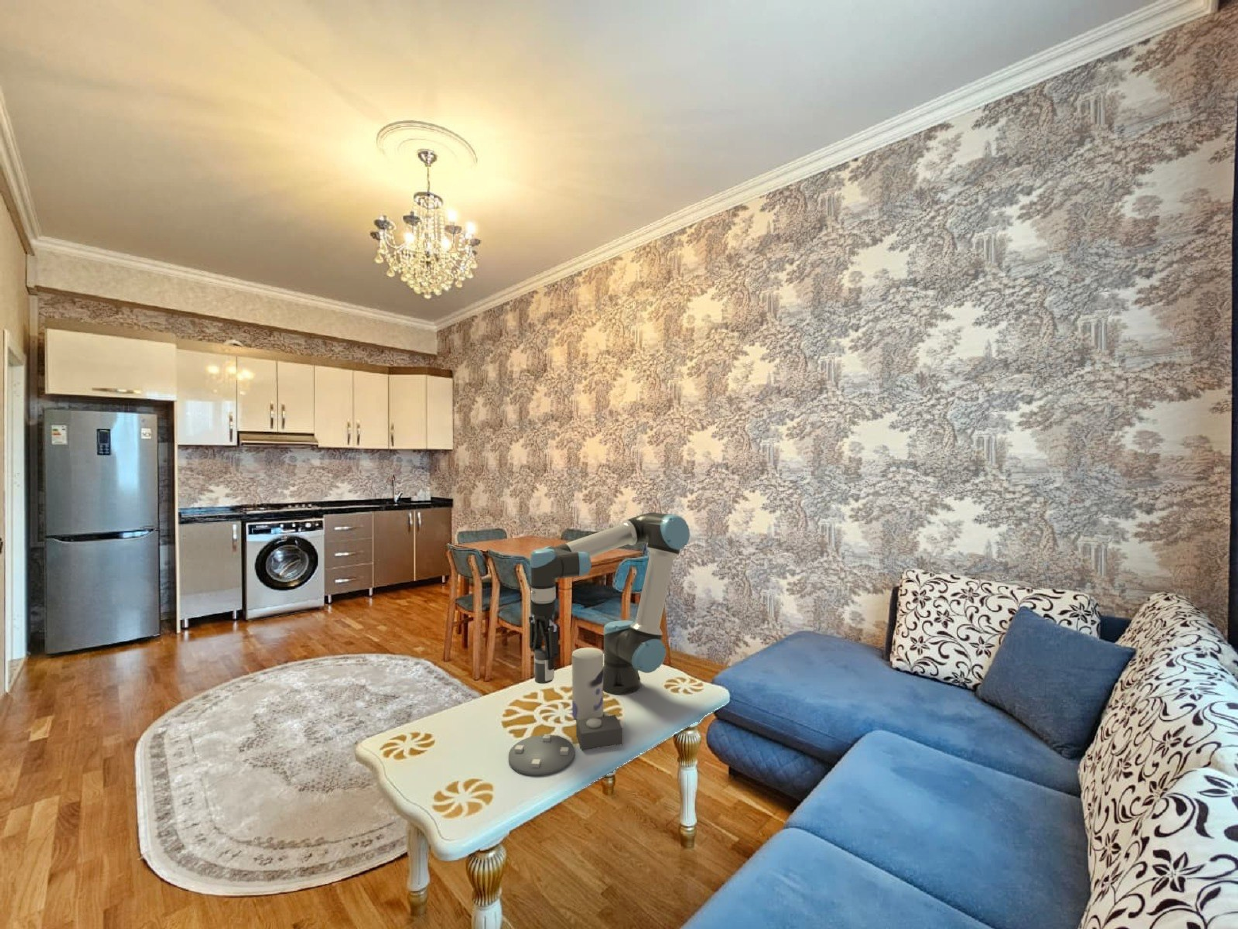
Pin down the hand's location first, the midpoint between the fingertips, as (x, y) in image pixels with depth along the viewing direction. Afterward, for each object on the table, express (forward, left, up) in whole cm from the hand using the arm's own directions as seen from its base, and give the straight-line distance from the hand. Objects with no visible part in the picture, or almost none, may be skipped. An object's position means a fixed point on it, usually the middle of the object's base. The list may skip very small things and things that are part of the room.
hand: (544, 676), depth 155 cm
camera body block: (-9, +16, -17) cm, 25 cm away
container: (-16, +1, -16) cm, 23 cm away
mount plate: (+8, +12, -16) cm, 22 cm away
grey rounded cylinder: (0, 0, -1) cm, 1 cm away
